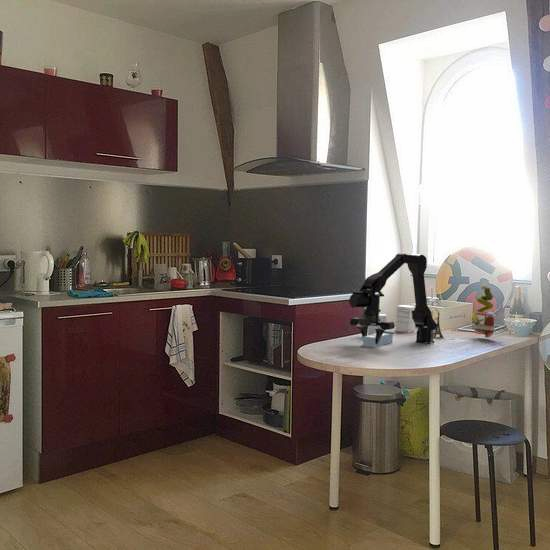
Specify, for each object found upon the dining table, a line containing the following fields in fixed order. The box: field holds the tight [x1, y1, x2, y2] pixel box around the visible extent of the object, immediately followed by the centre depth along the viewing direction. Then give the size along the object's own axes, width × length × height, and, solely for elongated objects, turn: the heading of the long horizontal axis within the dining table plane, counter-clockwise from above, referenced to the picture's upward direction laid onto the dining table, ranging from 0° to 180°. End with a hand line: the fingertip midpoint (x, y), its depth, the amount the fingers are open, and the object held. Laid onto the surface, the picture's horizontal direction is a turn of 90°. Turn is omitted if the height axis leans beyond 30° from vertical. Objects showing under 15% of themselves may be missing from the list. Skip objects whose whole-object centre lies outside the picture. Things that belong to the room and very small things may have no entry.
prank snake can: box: [471, 284, 495, 338], centre depth 300 cm, size 12×10×25 cm
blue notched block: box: [370, 330, 396, 347], centre depth 279 cm, size 7×13×5 cm, turn 144°
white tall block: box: [395, 304, 416, 334], centre depth 316 cm, size 7×7×13 cm
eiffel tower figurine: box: [433, 312, 454, 341], centre depth 299 cm, size 15×10×13 cm
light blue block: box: [362, 334, 380, 348], centre depth 271 cm, size 5×5×4 cm
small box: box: [367, 313, 387, 336], centre depth 295 cm, size 8×6×10 cm
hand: (370, 343), depth 271 cm, fingers closed on light blue block, 5 cm apart
